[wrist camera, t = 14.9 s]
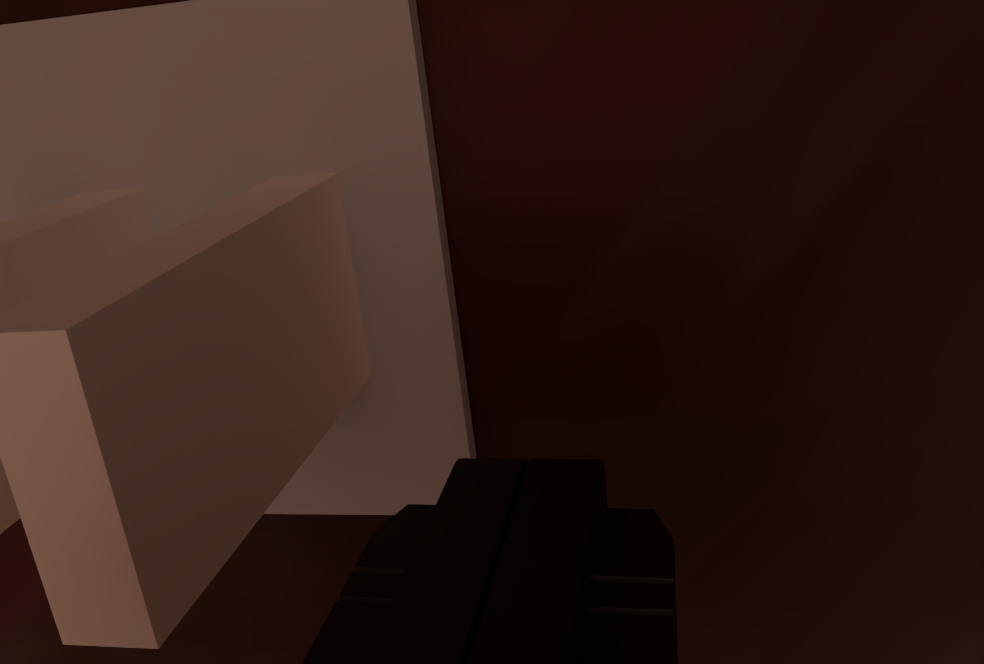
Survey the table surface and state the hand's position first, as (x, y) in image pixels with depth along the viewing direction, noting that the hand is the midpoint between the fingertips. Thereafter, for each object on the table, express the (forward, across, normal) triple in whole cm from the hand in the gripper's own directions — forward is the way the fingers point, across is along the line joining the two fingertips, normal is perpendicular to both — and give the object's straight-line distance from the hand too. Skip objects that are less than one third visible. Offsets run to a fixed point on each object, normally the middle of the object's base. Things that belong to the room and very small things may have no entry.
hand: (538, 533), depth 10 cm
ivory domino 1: (+11, +7, +1) cm, 13 cm away
